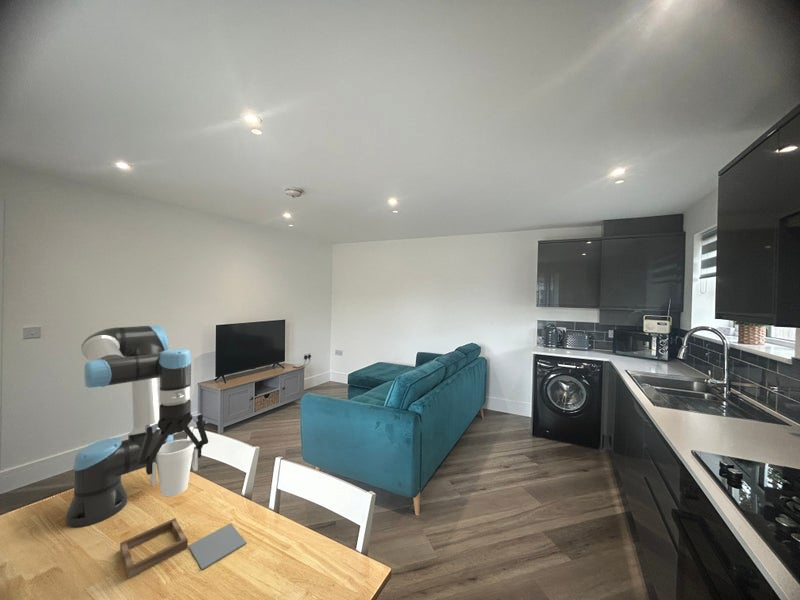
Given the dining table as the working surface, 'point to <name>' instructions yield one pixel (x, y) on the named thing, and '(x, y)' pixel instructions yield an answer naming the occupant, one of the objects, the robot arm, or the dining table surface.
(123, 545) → the frame
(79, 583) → the dining table surface
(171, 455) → the foam cup
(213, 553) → the mat
